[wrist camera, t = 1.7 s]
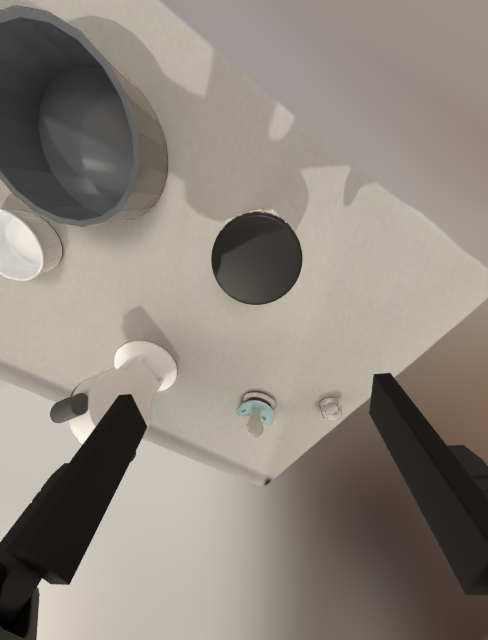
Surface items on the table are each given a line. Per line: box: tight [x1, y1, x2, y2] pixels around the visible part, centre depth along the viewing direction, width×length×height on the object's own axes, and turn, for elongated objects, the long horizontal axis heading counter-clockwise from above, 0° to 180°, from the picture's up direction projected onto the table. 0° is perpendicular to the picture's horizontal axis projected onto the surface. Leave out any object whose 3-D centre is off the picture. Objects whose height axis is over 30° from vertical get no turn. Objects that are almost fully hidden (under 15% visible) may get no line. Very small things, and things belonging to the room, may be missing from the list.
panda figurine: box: [50, 341, 177, 462], centre depth 35 cm, size 12×11×15 cm
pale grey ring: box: [319, 398, 342, 420], centre depth 41 cm, size 4×2×4 cm, turn 111°
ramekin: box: [0, 208, 62, 281], centre depth 31 cm, size 9×9×4 cm
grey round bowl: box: [0, 6, 168, 227], centre depth 24 cm, size 15×15×8 cm
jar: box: [211, 208, 302, 305], centre depth 26 cm, size 9×8×12 cm
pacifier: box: [237, 392, 276, 437], centre depth 41 cm, size 7×6×6 cm
